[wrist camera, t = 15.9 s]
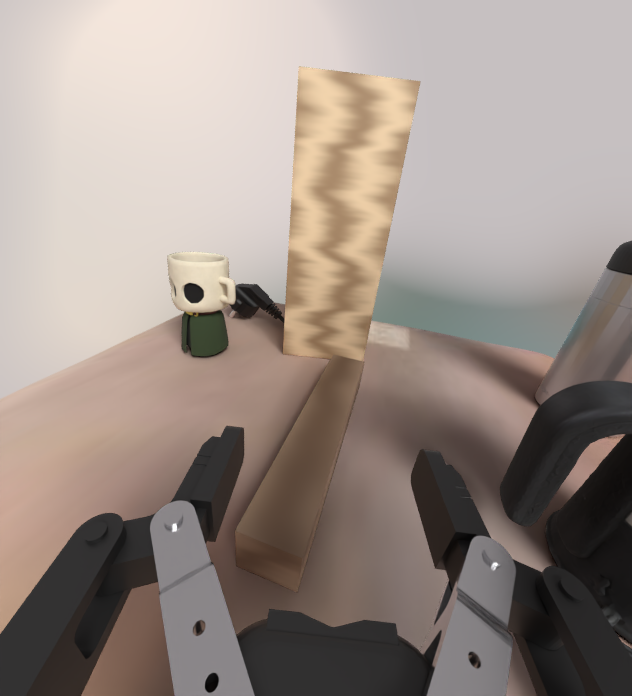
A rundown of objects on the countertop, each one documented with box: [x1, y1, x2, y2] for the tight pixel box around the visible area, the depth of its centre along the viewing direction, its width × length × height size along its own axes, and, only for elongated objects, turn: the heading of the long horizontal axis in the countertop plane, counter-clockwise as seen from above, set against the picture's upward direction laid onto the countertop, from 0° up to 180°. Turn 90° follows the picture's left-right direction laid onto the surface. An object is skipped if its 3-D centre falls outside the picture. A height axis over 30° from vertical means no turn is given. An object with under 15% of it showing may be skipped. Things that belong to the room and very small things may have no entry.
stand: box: [283, 66, 420, 361], centre depth 41 cm, size 12×15×32 cm
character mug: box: [167, 252, 236, 356], centre depth 38 cm, size 11×7×13 cm, turn 65°
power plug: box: [229, 284, 285, 323], centre depth 52 cm, size 6×8×12 cm
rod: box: [235, 354, 364, 592], centre depth 26 cm, size 4×23×4 cm, turn 163°
